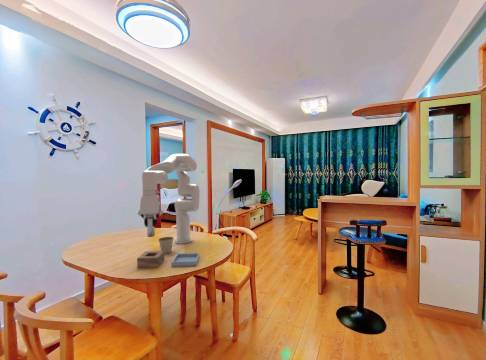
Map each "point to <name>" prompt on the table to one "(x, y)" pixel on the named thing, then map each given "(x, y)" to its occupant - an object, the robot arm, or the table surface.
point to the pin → (150, 225)
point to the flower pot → (166, 244)
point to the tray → (185, 259)
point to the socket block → (150, 259)
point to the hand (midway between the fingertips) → (150, 225)
